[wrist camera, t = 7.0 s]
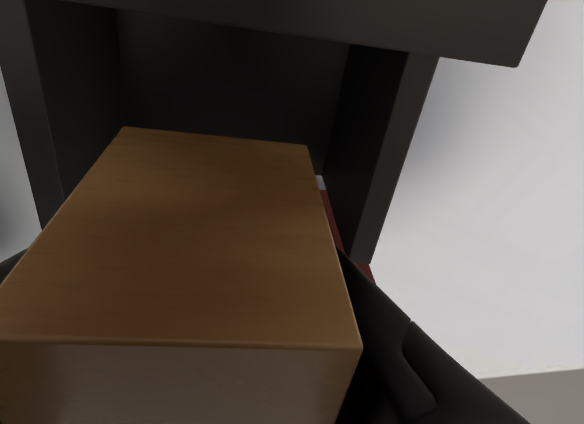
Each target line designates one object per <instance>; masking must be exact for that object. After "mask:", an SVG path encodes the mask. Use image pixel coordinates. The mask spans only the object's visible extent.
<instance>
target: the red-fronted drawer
mask: <svg viewBox="0 0 584 424" xmlns="http://www.w3.org/2000/svg"><path fill="white" fill-rule="evenodd" d="M438 60H439V57H437V56H431V55H424V54H417V53H411V52H404V51H397V50H390V49H384V48H377V47H370V46H363V45H357V44H350V43H343V42H336V41H330V40H323V39H316V38H309V37H303V36H296V35H289V34H282V33H276V32H269V31H262V30H255V29H249V28H242V27H235V26H228V25H222V24H215V23H208V22H201V21H195V20H188V19H181V18H174V17H168V16H161V15H154V14H147V13H141V12H134V11H127V10H120V9H114V8H107V7H100V6H93V5H87V4H80V3H73V2H66V1H60V0H0V66H1V70H2V74H3V78H4V82H5V86H6V90H7V94H8V98H9V102H10V106H11V110H12V114H13V118H14V122H15V126H16V130H17V134H18V138H19V142H20V146H21V150H22V154H23V158H24V162H25V166H26V169H27V173H28V177H29V181H30V185H31V189H32V193H33V197H34V201H35V205H36V209H37V213H38V217H39V221H40V225H41V229H42V230H43V229H44V228H45V226H46V225H47V224H48V222H49V221H50V220H51V219H52V217H53V216H54V215H55V213H56V212H57V211H58V210H59V208H60V207H61V206H62V204H63V203H64V202H65V201H66V199H67V198H68V197H69V195H70V194H71V193H72V192H73V190H74V189H75V188H76V186H77V185H78V184H79V183H80V181H81V180H82V179H83V177H84V176H85V175H86V174H87V172H88V171H89V170H90V168H91V167H92V166H93V165H94V163H95V162H96V161H97V159H98V158H99V157H100V156H101V154H102V153H103V152H104V150H105V149H106V148H107V146H108V145H109V144H110V143H111V141H112V140H113V139H114V137H115V136H116V135H117V134H118V132H119V131H120V130H121V128H122V127H124V126H127V127H137V128H146V129H156V130H166V131H175V132H185V133H194V134H204V135H213V136H223V137H233V138H242V139H252V140H261V141H271V142H281V143H290V144H300V145H306V146H307V148H308V152H309V155H310V159H311V162H312V166H313V169H314V173H315V175H321V176H322V177H323V181H324V184H325V188H326V190H319V191H320V194H321V198H322V201H323V205H324V209H325V212H326V216H327V219H328V223H329V226H330V230H331V233H332V237H333V240H334V244H335V245H336V246H337V247H338V248H339V249H340V250H341V251H342V252H343V253H344V254H345V255H346V256H347V257H348V258H349V259H350V260H351V261H352V262H353V263H354V264H355V265H356V266H357V267H358V268H359V269H360V270H361V271H363V272H364V273H365V274H366V275H367V276H368V277H369V278H370V279H371V280H372V281H373V282H374V283H375V280H374V278H373V275H372V272H371V269H370V267H369V264H370V263H371V260H372V257H373V254H374V251H375V248H376V245H377V242H378V239H379V236H380V233H381V230H382V227H383V224H384V221H385V218H386V215H387V212H388V209H389V206H390V203H391V200H392V197H393V194H394V191H395V188H396V185H397V182H398V179H399V176H400V173H401V170H402V167H403V164H404V161H405V158H406V155H407V152H408V149H409V146H410V143H411V140H412V137H413V135H414V132H415V129H416V126H417V123H418V120H419V117H420V114H421V111H422V108H423V105H424V102H425V99H426V96H427V93H428V90H429V87H430V84H431V81H432V78H433V75H434V72H435V69H436V66H437V63H438ZM375 284H376V283H375Z"/></svg>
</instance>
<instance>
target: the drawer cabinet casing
mask: <svg viewBox="0 0 584 424" xmlns="http://www.w3.org/2000/svg"><path fill="white" fill-rule="evenodd" d="M60 1H66V2H73V3H80V4H87V5H93V6H100V7H107V8H114V9H120V10H127V11H134V12H141V13H147V14H154V15H161V16H168V17H174V18H181V19H188V20H195V21H201V22H208V23H215V24H222V25H228V26H235V27H242V28H249V29H255V30H262V31H269V32H276V33H282V34H289V35H296V36H303V37H309V38H316V39H323V40H330V41H336V42H343V43H350V44H357V45H363V46H370V47H377V48H384V49H390V50H397V51H404V52H411V53H417V54H424V55H431V56H437V57H444V58H451V59H458V60H464V61H471V62H478V63H485V64H491V65H498V66H505V67H512V68H515V67H518V65H519V63H520V61H521V58H522V56H523V54H524V52H525V50H526V47H527V45H528V43H529V41H530V38H531V36H532V34H533V32H534V29H535V27H536V25H537V23H538V20H539V18H540V16H541V14H542V11H543V9H544V7H545V5H546V2H547V0H60Z"/></svg>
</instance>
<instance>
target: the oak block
mask: <svg viewBox="0 0 584 424" xmlns="http://www.w3.org/2000/svg"><path fill="white" fill-rule="evenodd" d="M362 351H363V343H362V340H361V336H360V333H359V329H358V326H357V322H356V319H355V315H354V311H353V308H352V304H351V301H350V297H349V294H348V290H347V287H346V283H345V280H344V276H343V272H342V269H341V265H340V262H339V258H338V255H337V251H336V248H335V244H334V240H333V237H332V233H331V230H330V226H329V223H328V219H327V216H326V212H325V209H324V205H323V201H322V198H321V194H320V191H319V187H318V184H317V180H316V177H315V173H314V169H313V166H312V162H311V159H310V155H309V152H308V148H307V146H306V145H300V144H290V143H281V142H271V141H261V140H252V139H242V138H233V137H223V136H213V135H204V134H194V133H185V132H175V131H166V130H156V129H146V128H137V127H127V126H124V127H122V128H121V130H120V131H119V132H118V134H117V135H116V136H115V137H114V139H113V140H112V141H111V143H110V144H109V145H108V146H107V148H106V149H105V150H104V152H103V153H102V154H101V156H100V157H99V158H98V159H97V161H96V162H95V163H94V165H93V166H92V167H91V168H90V170H89V171H88V172H87V174H86V175H85V176H84V177H83V179H82V180H81V181H80V183H79V184H78V185H77V186H76V188H75V189H74V190H73V192H72V193H71V194H70V195H69V197H68V198H67V199H66V201H65V202H64V203H63V204H62V206H61V207H60V208H59V210H58V211H57V212H56V213H55V215H54V216H53V217H52V219H51V220H50V221H49V222H48V224H47V225H46V226H45V228H44V229H43V230H42V231H41V233H40V234H39V235H38V237H37V238H36V239H35V240H34V242H33V243H32V244H31V246H30V247H29V248H28V249H27V251H26V252H25V253H24V255H23V256H22V257H21V258H20V260H19V261H18V262H17V264H16V265H15V266H14V267H13V269H12V270H11V271H10V273H9V274H8V275H7V276H6V278H5V279H4V280H3V282H2V283H1V284H0V423H1V424H335V422H336V419H337V417H338V414H339V411H340V409H341V406H342V404H343V401H344V398H345V396H346V393H347V390H348V388H349V385H350V382H351V380H352V377H353V375H354V372H355V369H356V367H357V364H358V361H359V359H360V356H361V353H362Z"/></svg>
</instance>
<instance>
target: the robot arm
mask: <svg viewBox="0 0 584 424" xmlns="http://www.w3.org/2000/svg"><path fill="white" fill-rule="evenodd" d="M335 248H336V251H337V255H338V258H339V262H340V265H341V269H342V272H343V276H344V280H345V283H346V287H347V290H348V294H349V297H350V301H351V304H352V308H353V311H354V315H355V319H356V322H357V326H358V329H359V333H360V336H361V340H362V343H363V351H362V353H361V356H360V359H359V361H358V364H357V367H356V369H355V372H354V375H353V377H352V380H351V382H350V385H349V388H348V390H347V393H346V396H345V398H344V401H343V404H342V406H341V409H340V411H339V414H338V417H337V419H336V422H335V424H530V423H529V422H528V421H527V420H525V419H524V418H523V417H522V416H521V415H519V414H518V413H517V412H516V411H515V410H513V409H512V408H511V407H510V406H509V405H507V404H506V403H505V402H504V401H503V400H501V399H500V398H499V397H498V396H497V395H495V394H494V393H493V392H492V391H491V390H489V389H488V388H487V387H486V386H485V385H484V384H482V383H481V382H480V381H479V380H478V379H476V378H475V377H474V376H473V375H472V374H470V373H469V372H468V371H467V370H466V369H465V368H463V367H462V366H461V365H460V364H459V363H458V362H456V361H455V360H454V359H453V358H452V357H451V356H450V355H448V354H447V353H446V352H445V351H444V350H443V349H442V348H441V347H440V346H439V345H438V344H436V343H435V342H434V341H433V340H432V339H431V338H430V337H429V336H428V335H427V334H426V333H425V332H424V331H423V330H422V329H421V328H420V327H419V326H418V325H417V324H416V323H415V322H413V321H411V319H410V318H409V317H408V316H407V315H406V314H405V313H404V312H403V311H402V310H401V309H400V308H399V307H398V306H397V305H396V304H395V303H394V302H393V301H392V300H391V299H390V298H389V297H388V296H387V295H386V294H385V293H384V292H383V291H382V290H381V289H380V288H379V287H378V286H377V285H376V284H375V283H374V282H373V281H372V280H371V279H370V278H369V277H368V276H367V275H366V274H365V273H364V272H363V271H361V270H360V269H359V268H358V267H357V266H356V265H355V264H354V263H353V262H352V261H351V260H350V259H349V258H348V257H347V256H346V255H345V254H344V253H343V252H342V251H341V250H340V249H339V248H338V247H337V246H336V245H335ZM27 249H28V248H27ZM27 249H25V250H23V251H21V252H19V253H18V254H16V255H14V256H12V257H10V258H8V259H7V260H5V261H3V262H1V263H0V284H1V283H2V282H3V280H4V279H5V278H6V276H7V275H8V274H9V273H10V271H11V270H12V269H13V267H14V266H15V265H16V264H17V262H18V261H19V260H20V258H21V257H22V256H23V255H24V253H25V252H26V251H27ZM410 321H411V322H410ZM0 424H1V423H0Z"/></svg>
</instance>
